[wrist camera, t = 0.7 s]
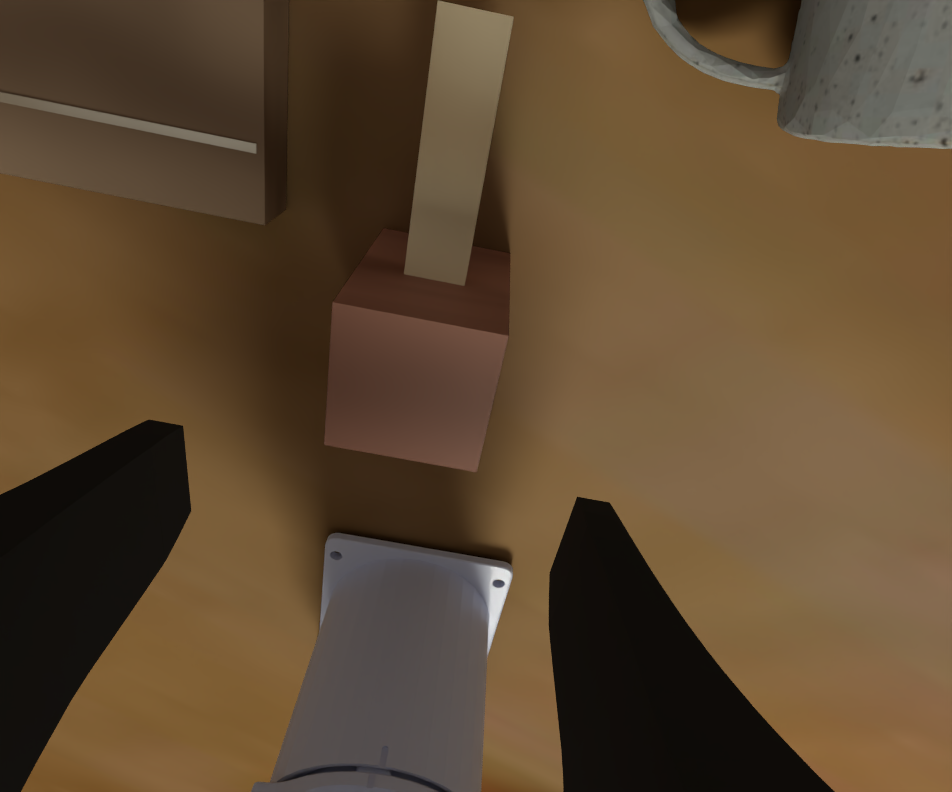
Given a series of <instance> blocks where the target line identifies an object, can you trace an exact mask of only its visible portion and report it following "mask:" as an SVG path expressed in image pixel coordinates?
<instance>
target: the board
mask: <svg viewBox="0 0 952 792" xmlns="http://www.w3.org/2000/svg"><path fill="white" fill-rule="evenodd" d="M288 27H289V0H0V173H2V174H7V175H12V176H17V177H22V178H27V179H32V180H37V181H42V182H47V183H52V184H57V185H63V186H68V187H73V188H78V189H83V190H88V191H93V192H98V193H103V194H108V195H113V196H118V197H123V198H129V199H134V200H139V201H144V202H149V203H154V204H159V205H164V206H169V207H174V208H179V209H184V210H190V211H195V212H200V213H205V214H210V215H215V216H220V217H225V218H230V219H235V220H240V221H245V222H250V223H256V224H261V225H266V224H267V223H269V222H270V221H271V220H273V219H274V218H275V217H277V216H278V215H279V214H281V213H282V212H283V211H285V210H286V182H287V105H288Z"/></svg>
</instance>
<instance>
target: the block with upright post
mask: <svg viewBox="0 0 952 792" xmlns="http://www.w3.org/2000/svg"><path fill="white" fill-rule="evenodd" d="M513 19H514V17H512V16H508V15H503V14H498V13H494V12H489V11H485V10H480V9H476V8H471V7H466V6H462V5H457V4H453V3H448V2H443V1H439V0H438V3H437V11H436V19H435V27H434V35H433V43H432V51H431V59H430V67H429V76H428V84H427V92H426V100H425V108H424V116H423V124H422V132H421V140H420V148H419V156H418V164H417V172H416V180H415V188H414V196H413V205H412V213H411V221H410V229H409V233H406V232H400V231H395V230H390V229H385V228H383V230H382V231H381V233H380V234H379V235H378V237H377V238H376V240H375V241H374V243H373V244H372V246H371V247H370V248H369V250H368V251H367V253H366V254H365V256H364V257H363V259H362V260H361V262H360V263H359V264H358V266H357V267H356V269H355V270H354V272H353V273H352V275H351V276H350V278H349V279H348V280H347V282H346V283H345V285H344V286H343V288H342V289H341V291H340V292H339V294H338V295H337V296H336V298H335V299H334V301H333V303H332V320H331V337H330V354H329V371H328V388H327V404H326V421H325V438H324V445H327V446H333V447H339V448H344V449H350V450H355V451H361V452H366V453H372V454H378V455H383V456H389V457H394V458H400V459H405V460H411V461H416V462H422V463H428V464H433V465H439V466H444V467H450V468H455V469H461V470H467V471H472V472H477V469H478V465H479V461H480V456H481V452H482V448H483V444H484V439H485V435H486V431H487V427H488V422H489V418H490V414H491V410H492V405H493V401H494V397H495V393H496V388H497V384H498V380H499V376H500V371H501V367H502V363H503V359H504V354H505V350H506V346H507V342H508V337H509V300H510V253H506V252H501V251H496V250H491V249H486V248H481V247H476V246H472V244H473V238H474V233H475V227H476V222H477V216H478V211H479V205H480V200H481V194H482V189H483V183H484V178H485V172H486V167H487V161H488V156H489V151H490V145H491V140H492V134H493V129H494V123H495V118H496V112H497V107H498V101H499V96H500V90H501V85H502V79H503V74H504V68H505V63H506V58H507V52H508V47H509V41H510V36H511V30H512V25H513Z"/></svg>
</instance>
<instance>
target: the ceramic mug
mask: <svg viewBox="0 0 952 792" xmlns="http://www.w3.org/2000/svg"><path fill="white" fill-rule="evenodd" d="M643 1H644V3H645V6H646V8H647V11H648V13H649V16H650V19H651V22H652V25H653V27H654V28H655V29H656V31H657V32H658V33H659V35H660V36H661V37H662V38H663V40H664V41H665V42H666V43H667V45H668V46H669V47H670V48H671V49H672V50H673V51H674V52H675V53H676V54H677V55H678V56H679V57H680V58H681V59H683V60H684V61H686V62H687V63H688V64H690V65H692V66H693V67H695V68H697V69H698V70H700V71H702V72H703V73H705V74H708V75H711V76H713V77H716V78H718V79H721V80H723V81H727V82H731V83H735V84H739V85H744V86H749V87H754V88H762V89H770V90H774V91H775V92H776V93H778V94H779V95H780V98H779V106H778V113H777V122H778V126H779V127H780V128H781V129H782V130H784V131H786V132H788V133H790V134H791V135H793V136H797V137H801V138H806V139H814V140H819V141H824V142H833V143H850V144H862V145H869V146H894V147H921V148H940V149H952V0H802V2H801V8H800V10H799V13H798V19H797V24H796V29H795V34H794V38H793V41H792V47H791V52H790V57H789V60H788V62H787V63H786V64H785V65H784V66H783V67H779V68H775V69H773V68H766V67H760V66H754V65H750V64H746V63H741V62H738V61H735V60H732V59H729V58H726V57H723V56H721V55H719V54H716V53H714V52H712V51H711V50H709V49H707V48H706V47H704V46H702V45H701V44H699V43H698V42H697V41H696V40H695V39H694V38H693V37H692V36H690V34H689V33H688V31H687V30H686V29H685V28H684V27H683V25H682V23H681V22H680V21H679V19H678V17H677V15H676V3H675V0H643Z"/></svg>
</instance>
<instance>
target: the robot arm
mask: <svg viewBox="0 0 952 792" xmlns="http://www.w3.org/2000/svg"><path fill="white" fill-rule="evenodd" d="M190 512H191V504H190V494H189V483H188V473H187V462H186V452H185V441H184V431H183V426H181V425H176V424H170V423H165V422H159V421H153V420H147V421H145V422H143V423H141V424H138V425H136V426H134V427H132V428H130V429H128V430H126V431H124V432H122V433H120V434H119V435H117V436H115V437H113V438H111V439H109V440H107V441H105V442H103V443H101V444H100V445H98V446H96V447H94V448H92V449H90V450H88V451H86V452H84V453H82V454H81V455H79V456H77V457H75V458H73V459H71V460H69V461H67V462H65V463H63V464H61V465H59V466H57V467H55V468H53V469H52V470H50V471H48V472H46V473H44V474H42V475H40V476H38V477H36V478H34V479H32V480H30V481H28V482H26V483H24V484H22V485H20V486H18V487H16V488H14V489H12V490H9V491H7V492H5V493H3V494H1V495H0V792H21V790H22V788H23V786H24V785H25V783H26V781H27V779H28V777H29V775H30V773H31V771H32V770H33V768H34V766H35V764H36V762H37V760H38V758H39V757H40V755H41V753H42V751H43V750H44V748H45V746H46V744H47V742H48V741H49V739H50V737H51V735H52V733H53V732H54V730H55V728H56V726H57V725H58V723H59V721H60V719H61V717H62V716H63V714H64V712H65V710H66V709H67V707H68V705H69V703H70V702H71V700H72V698H73V697H74V695H75V694H76V692H77V690H78V689H79V687H80V686H81V684H82V683H83V681H84V679H85V678H86V676H87V675H88V673H89V672H90V670H91V669H92V667H93V666H94V664H95V663H96V662H97V660H98V659H99V657H100V656H101V654H102V653H103V651H104V650H105V649H106V647H107V646H108V644H109V643H110V641H111V640H112V638H113V637H114V636H115V634H116V633H117V631H118V630H119V628H120V627H121V625H122V624H123V623H124V621H125V620H126V618H127V617H128V615H129V614H130V612H131V611H132V610H133V608H134V607H135V605H136V604H137V602H138V601H139V599H140V598H141V597H142V595H143V594H144V592H145V591H146V589H147V588H148V586H149V585H150V583H151V582H152V580H153V579H154V577H155V576H156V574H157V573H158V571H159V570H160V568H161V567H162V565H163V564H164V562H165V561H166V559H167V557H168V555H169V554H170V552H171V550H172V548H173V546H174V544H175V542H176V540H177V538H178V536H179V534H180V532H181V530H182V528H183V526H184V524H185V522H186V520H187V518H188V516H189V514H190ZM335 551H337V552H340V553H336V552H335ZM512 577H513V568H512V566H511V565H510V564H509V563H507V562H504V561H498V560H493V559H487V558H481V557H475V556H470V555H464V554H458V553H452V552H447V551H441V550H435V549H429V548H423V547H418V546H412V545H406V544H400V543H395V542H389V541H383V540H377V539H372V538H366V537H360V536H354V535H349V534H343V533H333V534H331V535H329V536H328V539H327V541H326V544H325V556H324V571H323V586H322V601H321V616H320V631H319V635H318V638H317V641H316V644H315V647H314V650H313V653H312V656H311V659H310V662H309V665H308V668H307V671H306V674H305V677H304V680H303V683H302V686H301V689H300V692H299V695H298V698H297V701H296V704H295V707H294V710H293V714H292V717H291V720H290V723H289V726H288V729H287V732H286V735H285V738H284V741H283V744H282V747H281V750H280V753H279V756H278V759H277V762H276V765H275V768H274V771H273V774H272V777H271V780H270V783H268V782H256V783H254V785H253V788H252V791H251V792H481V783H482V760H483V738H484V716H485V694H486V672H487V657H488V653H489V650H490V647H491V644H492V641H493V637H494V634H495V631H496V628H497V625H498V622H499V618H500V615H501V612H502V609H503V606H504V602H505V599H506V596H507V593H508V590H509V587H510V583H511V580H512ZM497 580H501V581H497ZM549 633H550V643H551V653H552V663H553V673H554V683H555V692H556V702H557V711H558V721H559V730H560V740H561V749H562V765H563V785H564V792H834V791H833V790H832V789H831V788H830V787H829V786H828V785H827V784H826V783H825V782H824V781H823V780H822V779H821V778H820V777H819V776H818V775H817V774H816V773H815V772H814V771H813V770H812V769H811V768H810V767H809V766H808V765H807V764H806V763H805V762H804V761H803V760H802V759H801V757H800V756H799V755H798V754H797V753H796V752H795V751H794V750H793V749H792V748H791V747H790V746H789V745H788V744H787V743H786V742H785V741H784V740H783V739H782V738H781V737H780V736H779V735H778V733H777V732H776V731H775V730H774V729H773V728H772V727H771V726H770V725H769V724H768V723H767V721H766V720H765V719H764V718H763V717H762V716H761V715H760V714H759V713H758V711H757V710H756V709H755V708H754V707H753V706H752V704H751V703H750V702H749V701H748V700H747V699H746V697H745V696H744V695H743V694H742V693H741V692H740V690H739V689H738V688H737V687H736V686H735V684H734V683H733V682H732V681H731V680H730V679H729V677H728V676H727V675H726V674H725V673H724V671H723V670H722V669H721V668H720V666H719V665H718V664H717V663H716V661H715V660H714V659H713V658H712V656H711V655H710V654H709V652H708V651H707V650H706V648H705V647H704V646H703V644H702V643H701V642H700V640H699V639H698V638H697V636H696V635H695V634H694V632H693V631H692V630H691V628H690V627H689V626H688V624H687V623H686V621H685V620H684V619H683V617H682V616H681V614H680V613H679V611H678V610H677V609H676V607H675V606H674V604H673V603H672V601H671V600H670V598H669V597H668V595H667V594H666V592H665V591H664V589H663V588H662V586H661V585H660V583H659V582H658V580H657V579H656V577H655V575H654V574H653V572H652V571H651V569H650V568H649V566H648V564H647V563H646V561H645V560H644V558H643V556H642V555H641V553H640V552H639V550H638V548H637V547H636V545H635V543H634V542H633V540H632V538H631V537H630V535H629V533H628V532H627V530H626V529H625V527H624V525H623V524H622V522H621V520H620V519H619V517H618V515H617V514H616V512H615V510H614V509H613V507H612V506H611V504H610V503H609V502H603V501H597V500H592V499H586V498H581V497H577V499H576V502H575V504H574V507H573V510H572V513H571V516H570V518H569V521H568V524H567V527H566V529H565V532H564V535H563V538H562V540H561V543H560V546H559V549H558V552H557V554H556V557H555V560H554V563H553V565H552V568H551V571H550V582H549Z"/></svg>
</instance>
